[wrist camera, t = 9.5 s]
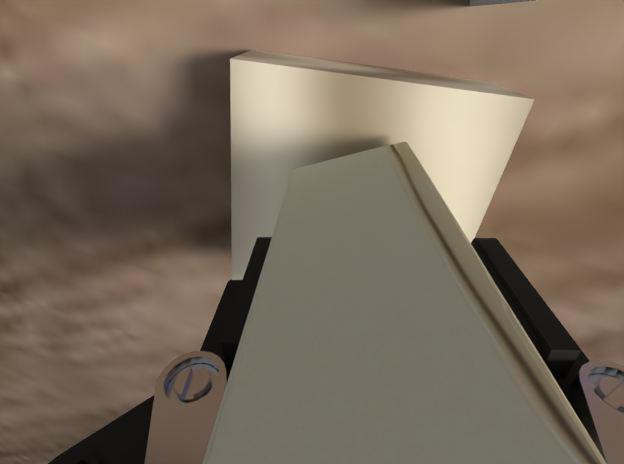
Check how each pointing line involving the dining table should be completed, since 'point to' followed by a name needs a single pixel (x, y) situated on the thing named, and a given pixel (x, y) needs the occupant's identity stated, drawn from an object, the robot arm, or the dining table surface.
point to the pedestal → (360, 132)
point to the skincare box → (385, 337)
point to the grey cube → (493, 2)
